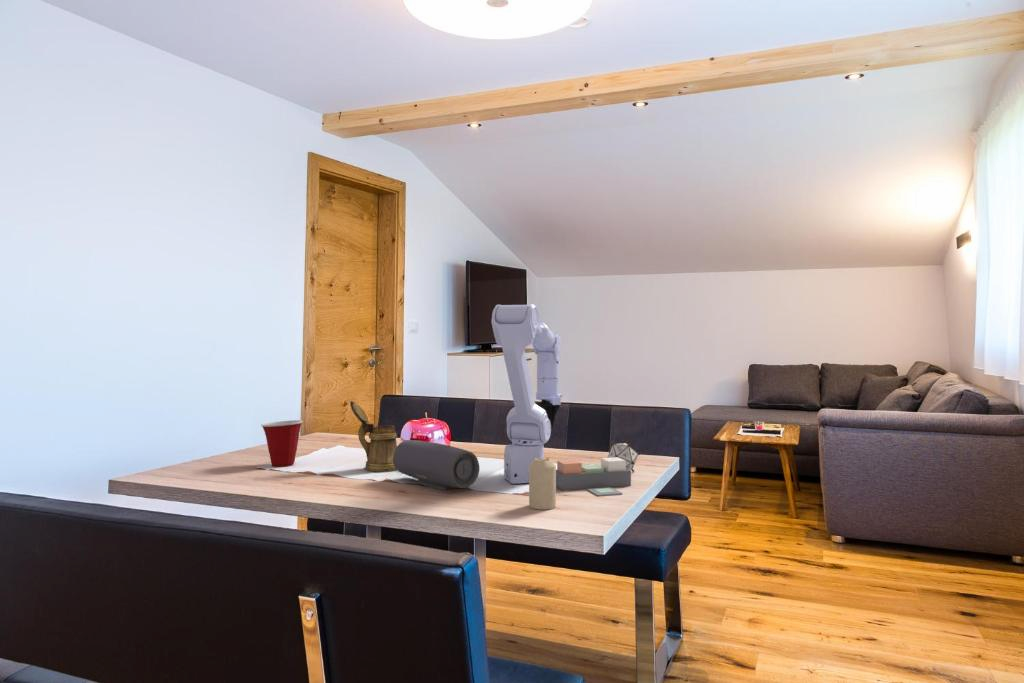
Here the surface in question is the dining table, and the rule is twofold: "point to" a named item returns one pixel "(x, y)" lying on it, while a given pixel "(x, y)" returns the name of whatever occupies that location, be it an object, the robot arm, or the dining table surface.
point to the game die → (624, 454)
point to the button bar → (593, 480)
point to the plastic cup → (282, 441)
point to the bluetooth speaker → (436, 464)
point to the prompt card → (604, 491)
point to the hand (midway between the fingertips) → (547, 429)
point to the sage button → (592, 468)
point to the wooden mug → (376, 442)
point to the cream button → (613, 464)
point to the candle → (542, 484)
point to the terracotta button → (569, 467)
